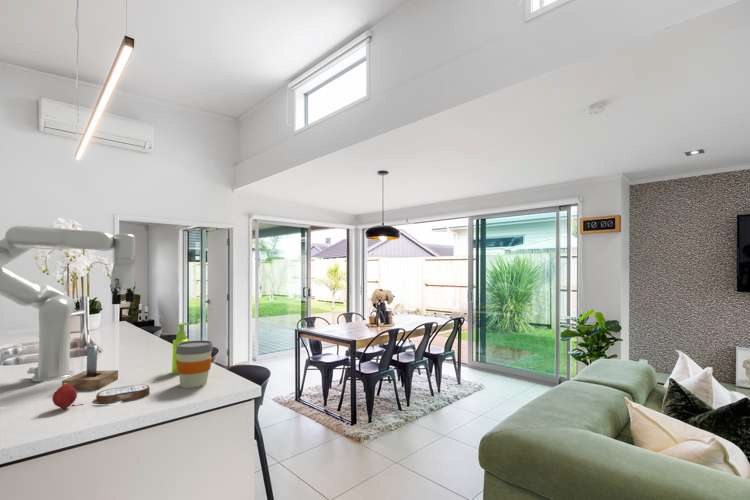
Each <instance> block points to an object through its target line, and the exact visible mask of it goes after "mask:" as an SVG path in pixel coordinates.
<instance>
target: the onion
mask: <svg viewBox="0 0 750 500" xmlns="http://www.w3.org/2000/svg"><path fill="white" fill-rule="evenodd" d="M77 397H78V392H77V390H75V388H74V387H72V386H70V385H68V384H67V383H63V384H61V386H60V387H58V389H56V390H55V391H54V393H53V394H52V397H51V400H52V402H53V404H54V405H55V406H57V407H58V408H60V409H61V410H66V409H67V408H69V407H70V406H71V405H73V404H74V403H75V401H76V399H77Z"/></svg>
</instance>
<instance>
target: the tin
mask: <svg viewBox="0 0 750 500" xmlns="http://www.w3.org/2000/svg"><path fill="white" fill-rule="evenodd" d="M149 395H150V386H149V385H148V384H132V385H127V386H120V387H114V388H108V389H104V390H101V391H100V392H98V393H97V394H96V396H95V398H96V399H95V402H96V404H98V405H110V404H115V403H118V402H119V401H122V402H127V401H134V400H138V399H143V398H146V397H148V396H149ZM117 401H118V402H117Z"/></svg>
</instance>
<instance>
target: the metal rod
mask: <svg viewBox="0 0 750 500" xmlns="http://www.w3.org/2000/svg"><path fill="white" fill-rule="evenodd" d="M86 347H87V348H86V350H87V351H86V370H85V371H86V377H96V375H97V371H98V369H97V367H98V366H97V365H98V345H97V344H95V345H94V344H92V345H87V346H86Z"/></svg>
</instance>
